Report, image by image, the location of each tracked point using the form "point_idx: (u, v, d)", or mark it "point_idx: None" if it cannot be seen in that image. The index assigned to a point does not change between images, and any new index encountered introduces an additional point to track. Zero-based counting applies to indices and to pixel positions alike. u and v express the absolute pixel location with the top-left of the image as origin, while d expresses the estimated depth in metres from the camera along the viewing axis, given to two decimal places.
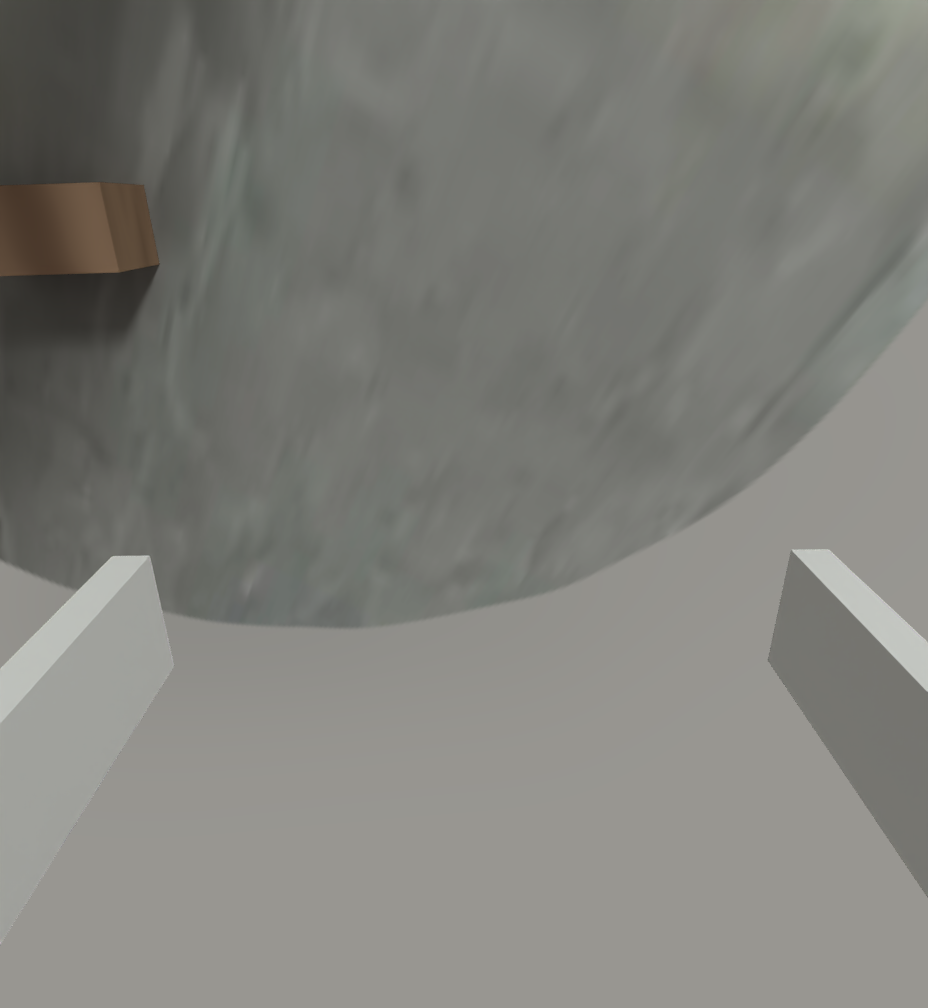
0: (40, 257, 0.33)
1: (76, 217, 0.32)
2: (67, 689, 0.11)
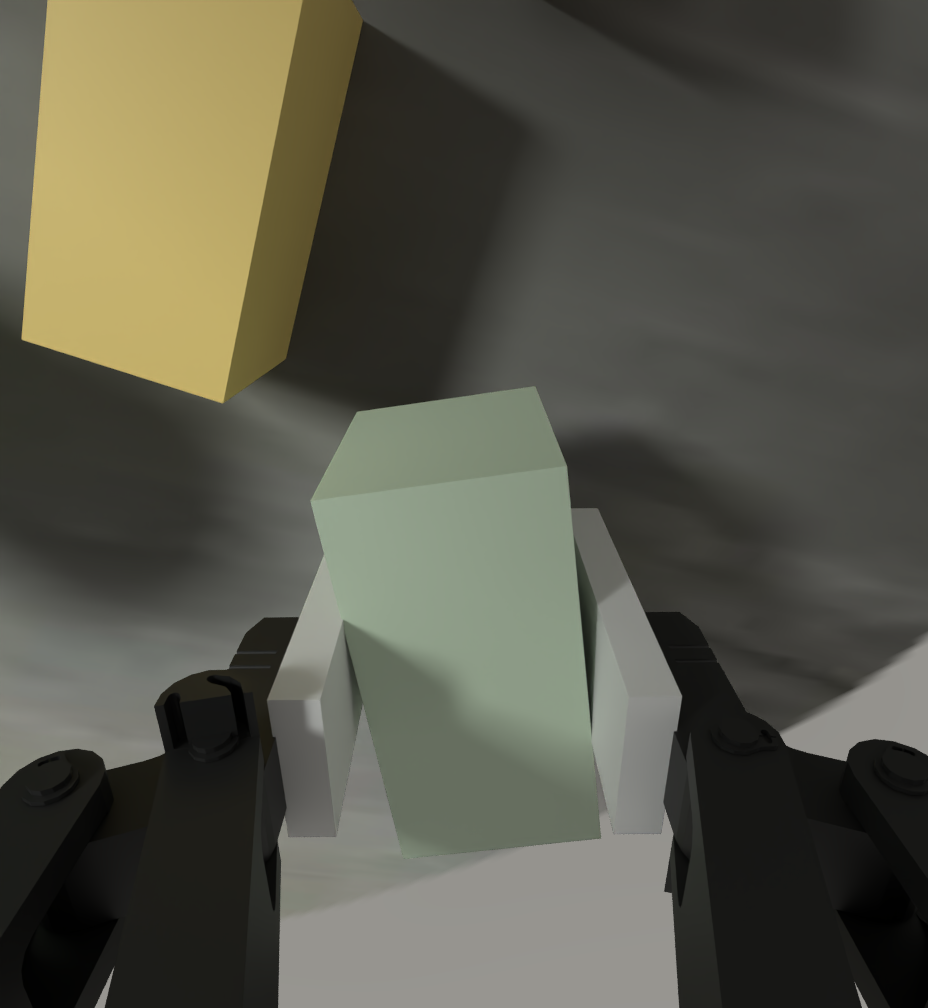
0: None
1: None
2: None
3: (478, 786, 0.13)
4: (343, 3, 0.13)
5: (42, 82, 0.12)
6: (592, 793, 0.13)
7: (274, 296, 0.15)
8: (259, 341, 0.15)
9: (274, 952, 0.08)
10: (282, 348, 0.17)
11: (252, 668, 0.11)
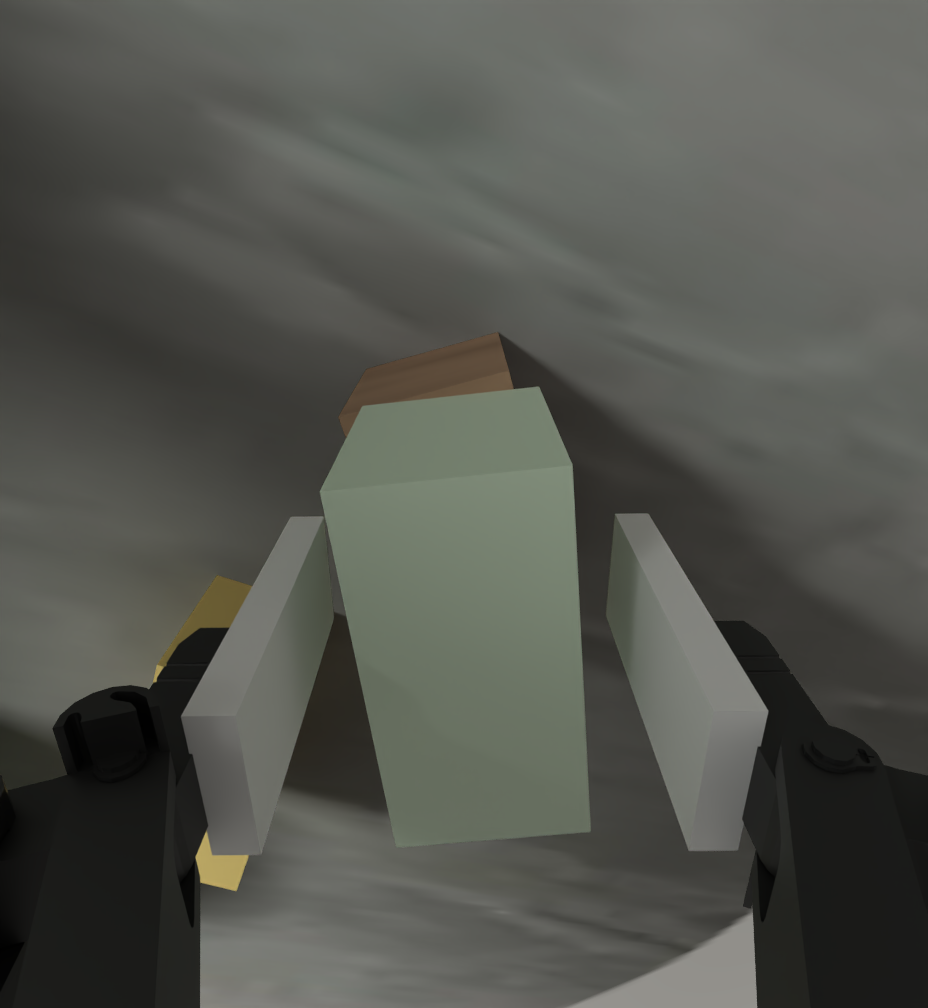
0: None
1: None
2: (292, 623, 0.12)
3: (472, 777, 0.13)
4: None
5: None
6: (584, 787, 0.13)
7: None
8: None
9: (194, 969, 0.08)
10: None
11: (179, 681, 0.11)
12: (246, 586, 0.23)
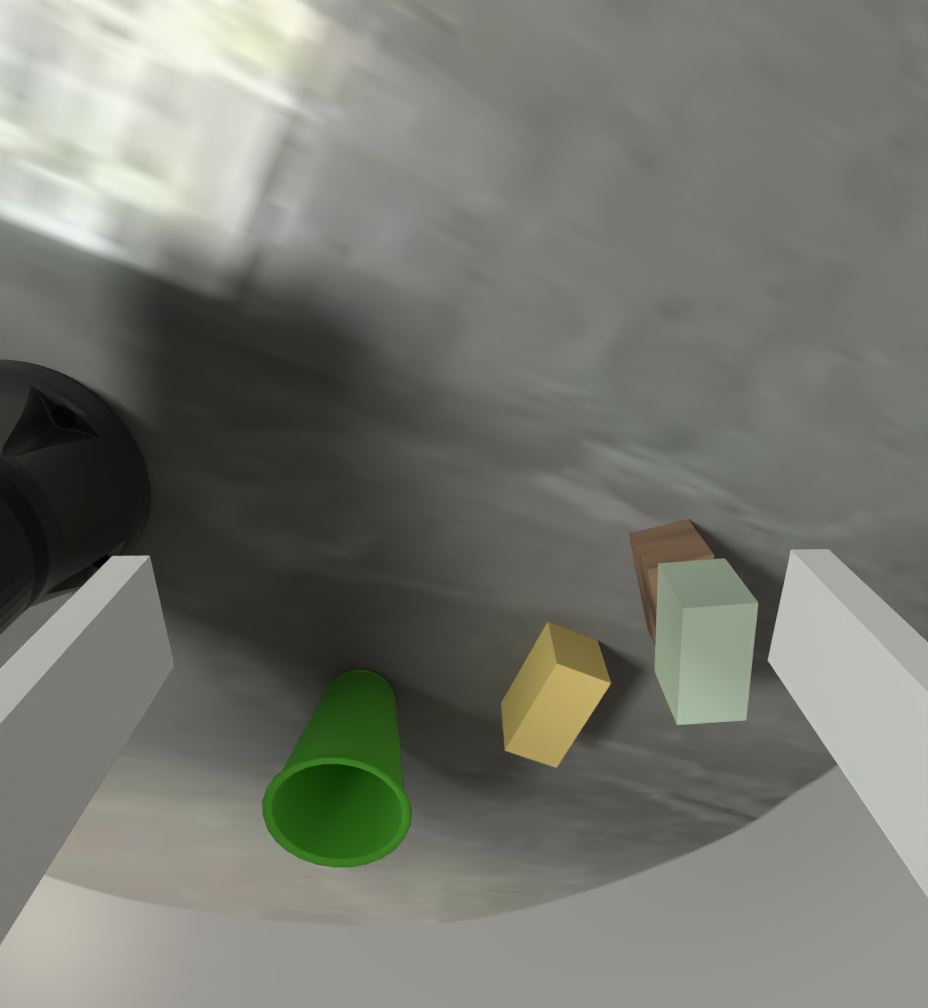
0: None
1: None
2: (67, 689, 0.11)
3: (709, 699, 0.39)
4: None
5: (533, 701, 0.45)
6: (746, 703, 0.39)
7: None
8: None
9: None
10: None
11: None
12: (561, 627, 0.48)
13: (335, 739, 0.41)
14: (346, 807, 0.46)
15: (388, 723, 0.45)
